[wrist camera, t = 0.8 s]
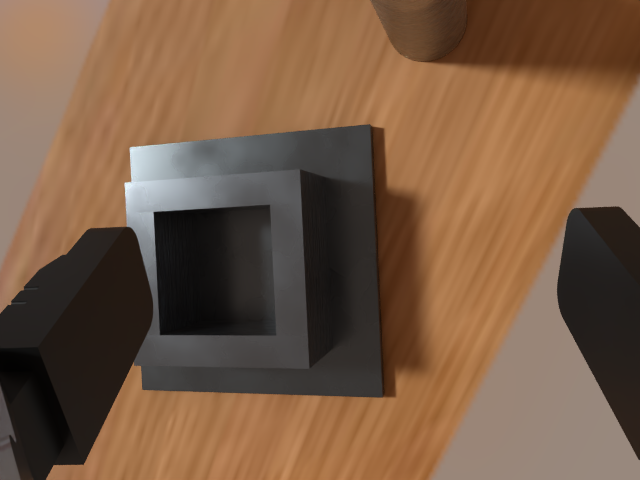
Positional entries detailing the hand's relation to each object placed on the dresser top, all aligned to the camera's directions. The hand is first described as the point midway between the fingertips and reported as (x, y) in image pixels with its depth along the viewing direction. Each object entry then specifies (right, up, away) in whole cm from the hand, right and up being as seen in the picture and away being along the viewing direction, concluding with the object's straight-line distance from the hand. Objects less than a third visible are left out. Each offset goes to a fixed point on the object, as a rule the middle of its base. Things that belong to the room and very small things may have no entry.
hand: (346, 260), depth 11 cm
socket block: (-4, -1, +21) cm, 22 cm away
